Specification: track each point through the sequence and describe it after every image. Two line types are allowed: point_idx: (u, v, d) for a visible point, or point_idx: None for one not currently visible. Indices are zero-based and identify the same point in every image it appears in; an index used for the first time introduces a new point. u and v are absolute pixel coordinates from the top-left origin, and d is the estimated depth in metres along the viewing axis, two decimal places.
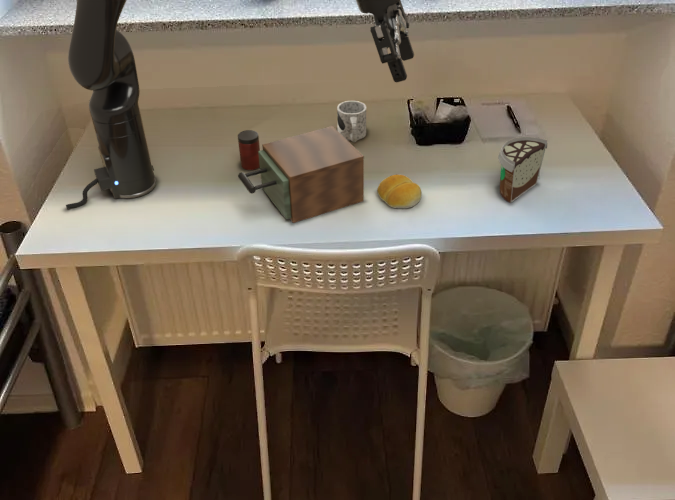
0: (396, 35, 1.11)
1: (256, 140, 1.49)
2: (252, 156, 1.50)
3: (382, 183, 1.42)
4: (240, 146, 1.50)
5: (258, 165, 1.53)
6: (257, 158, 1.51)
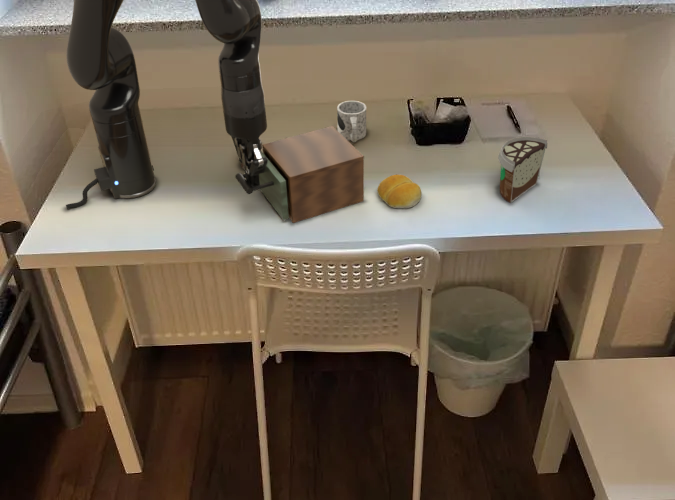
0: None
1: None
2: None
3: (382, 183, 1.42)
4: None
5: None
6: None
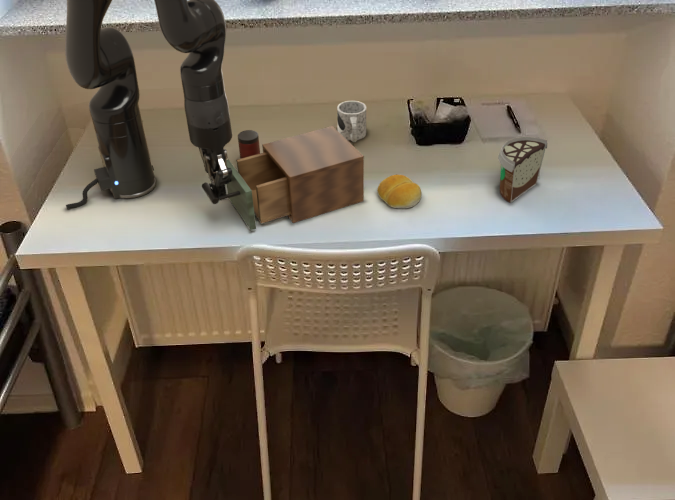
0: (226, 167, 1.29)
1: (256, 140, 1.49)
2: None
3: (382, 183, 1.42)
4: (240, 146, 1.50)
5: None
6: None
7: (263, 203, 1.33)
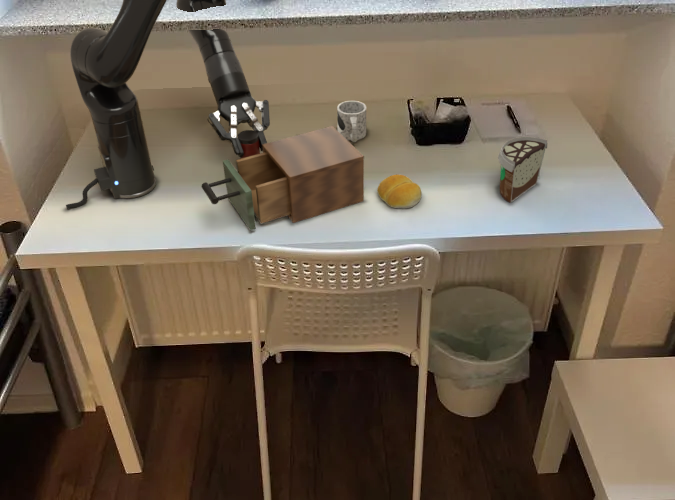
0: None
1: (256, 140, 1.49)
2: None
3: (382, 183, 1.42)
4: None
5: None
6: None
7: (263, 203, 1.33)
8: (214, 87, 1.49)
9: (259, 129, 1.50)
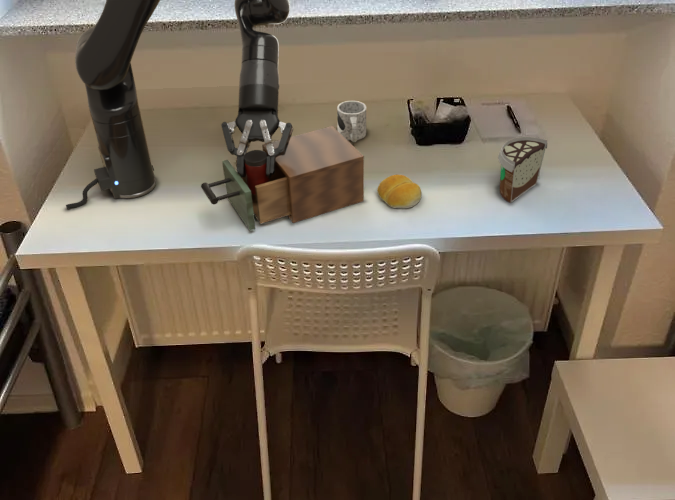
0: None
1: (260, 164, 1.32)
2: (254, 179, 1.34)
3: (382, 183, 1.42)
4: None
5: None
6: None
7: (262, 204, 1.33)
8: (239, 95, 1.34)
9: (269, 153, 1.32)
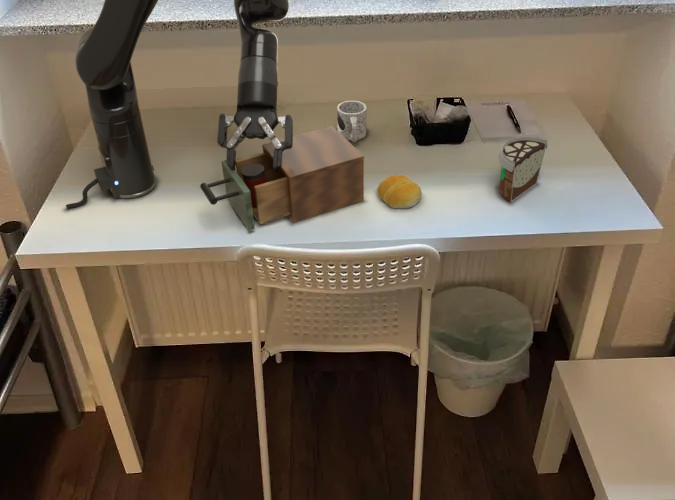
0: None
1: (257, 177, 1.34)
2: (253, 193, 1.36)
3: (382, 183, 1.42)
4: (243, 180, 1.36)
5: None
6: None
7: (262, 204, 1.33)
8: None
9: (277, 146, 1.32)
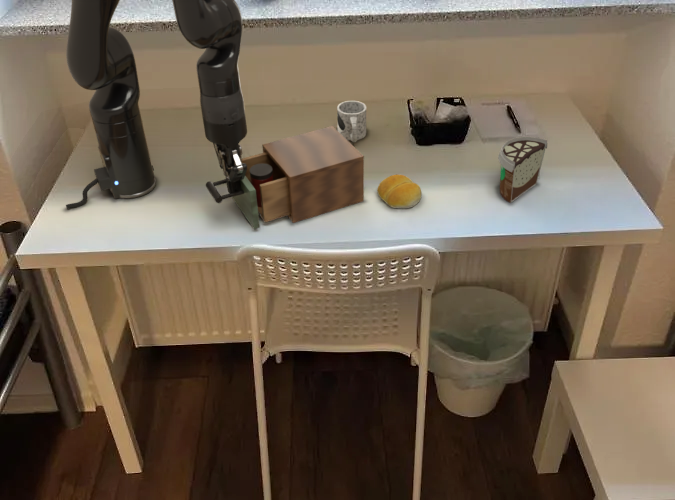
0: (240, 163, 1.30)
1: (265, 177, 1.34)
2: (259, 192, 1.36)
3: (382, 183, 1.42)
4: None
5: None
6: None
7: (267, 202, 1.33)
8: None
9: (226, 177, 1.32)
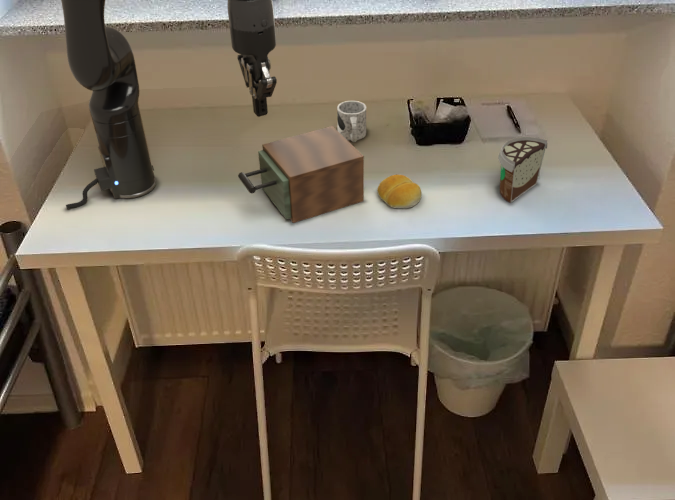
0: None
1: None
2: None
3: (382, 183, 1.42)
4: None
5: None
6: None
7: None
8: None
9: (253, 95, 1.25)
